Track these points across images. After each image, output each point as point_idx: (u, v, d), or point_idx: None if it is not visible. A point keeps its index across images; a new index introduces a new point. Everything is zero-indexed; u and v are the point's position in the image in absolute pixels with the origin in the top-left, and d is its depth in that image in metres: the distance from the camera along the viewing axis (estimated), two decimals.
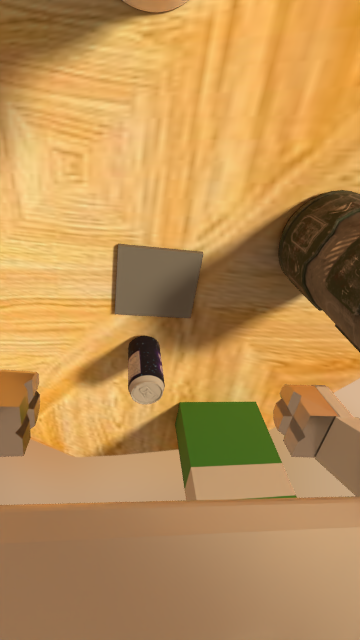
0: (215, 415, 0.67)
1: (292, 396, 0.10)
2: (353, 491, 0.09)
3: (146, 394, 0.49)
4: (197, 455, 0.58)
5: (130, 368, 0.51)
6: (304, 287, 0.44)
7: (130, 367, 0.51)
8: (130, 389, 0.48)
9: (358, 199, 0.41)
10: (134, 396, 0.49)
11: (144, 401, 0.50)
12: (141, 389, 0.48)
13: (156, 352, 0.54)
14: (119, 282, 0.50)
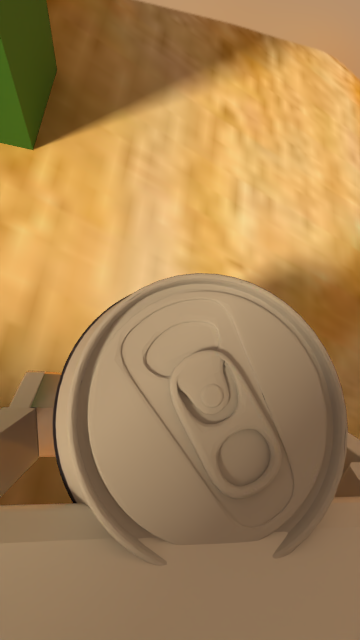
0: None
1: None
2: None
3: (213, 376, 0.06)
4: None
5: None
6: None
7: None
8: None
9: None
10: (310, 370, 0.06)
11: (230, 301, 0.06)
12: (265, 454, 0.05)
13: None
14: None
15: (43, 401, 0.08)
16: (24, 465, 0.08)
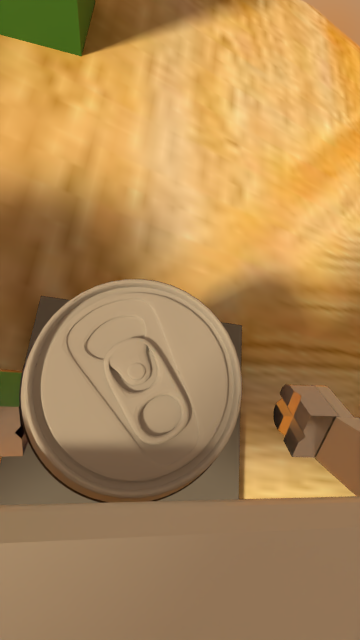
0: None
1: (292, 396, 0.10)
2: (353, 491, 0.09)
3: (139, 358, 0.07)
4: None
5: None
6: None
7: None
8: None
9: None
10: (217, 350, 0.08)
11: (155, 300, 0.08)
12: (177, 413, 0.07)
13: None
14: None
15: None
16: None
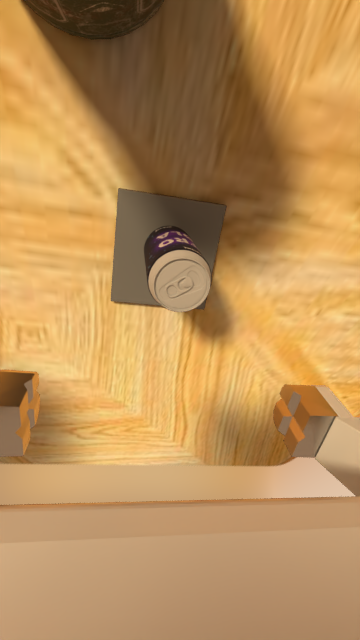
0: None
1: (292, 396, 0.10)
2: (353, 491, 0.09)
3: (187, 284, 0.27)
4: None
5: None
6: None
7: None
8: None
9: None
10: (188, 305, 0.28)
11: (204, 289, 0.27)
12: (172, 294, 0.27)
13: (153, 240, 0.32)
14: None
15: None
16: None
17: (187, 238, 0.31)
